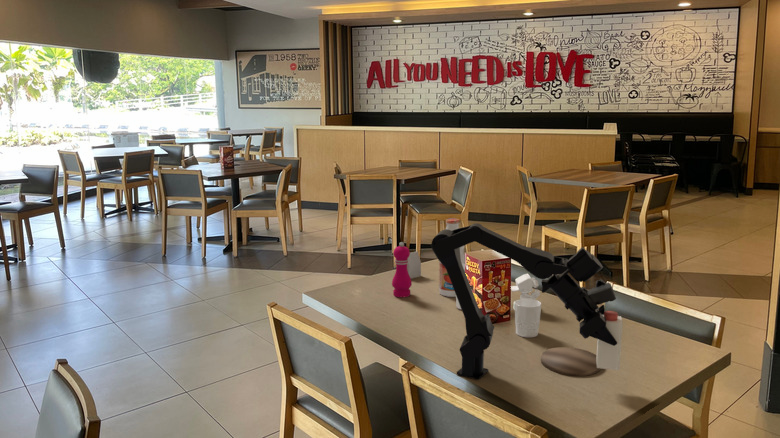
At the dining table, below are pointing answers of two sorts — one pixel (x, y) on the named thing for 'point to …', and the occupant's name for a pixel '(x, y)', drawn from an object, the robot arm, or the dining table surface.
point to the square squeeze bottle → (606, 352)
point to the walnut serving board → (570, 361)
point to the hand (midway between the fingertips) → (615, 340)
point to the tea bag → (414, 265)
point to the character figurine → (526, 287)
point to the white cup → (527, 317)
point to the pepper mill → (401, 272)
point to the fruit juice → (444, 279)
